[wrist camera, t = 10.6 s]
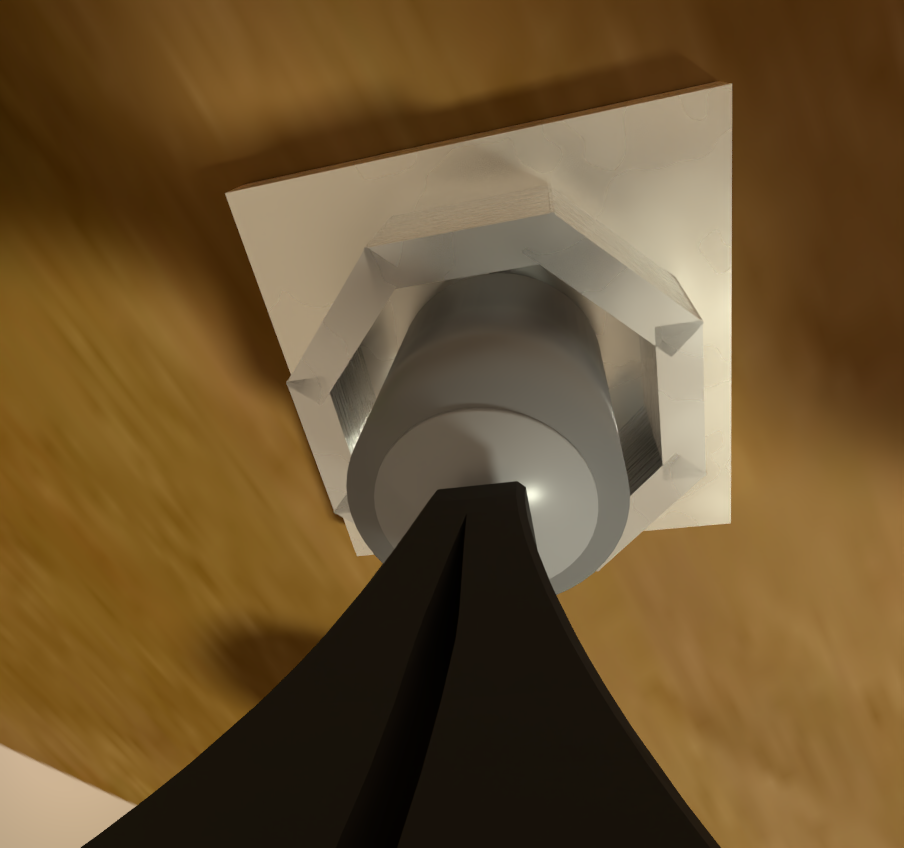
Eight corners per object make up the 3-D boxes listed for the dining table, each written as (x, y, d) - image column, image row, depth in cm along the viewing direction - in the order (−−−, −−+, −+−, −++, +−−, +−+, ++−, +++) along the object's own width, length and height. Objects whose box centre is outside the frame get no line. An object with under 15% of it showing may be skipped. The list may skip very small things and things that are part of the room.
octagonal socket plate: (717, 81, 12) (777, 91, 9) (720, 499, 17) (761, 596, 14) (243, 184, 14) (165, 220, 11) (365, 533, 19) (333, 623, 16)
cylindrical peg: (593, 257, 13) (623, 362, 9) (608, 445, 15) (638, 605, 11) (380, 289, 14) (308, 400, 10) (423, 463, 16) (381, 618, 12)
